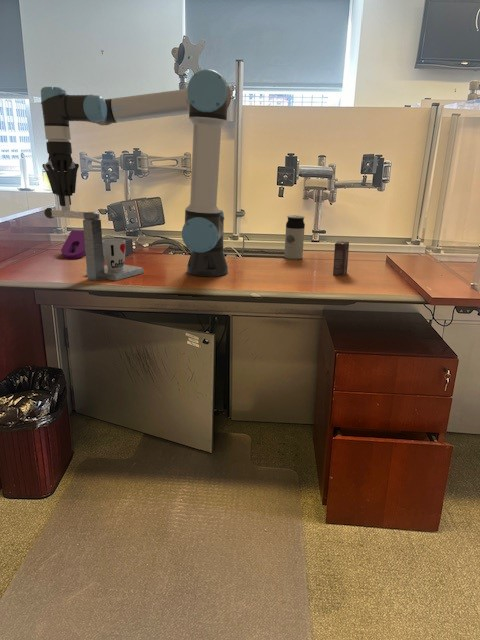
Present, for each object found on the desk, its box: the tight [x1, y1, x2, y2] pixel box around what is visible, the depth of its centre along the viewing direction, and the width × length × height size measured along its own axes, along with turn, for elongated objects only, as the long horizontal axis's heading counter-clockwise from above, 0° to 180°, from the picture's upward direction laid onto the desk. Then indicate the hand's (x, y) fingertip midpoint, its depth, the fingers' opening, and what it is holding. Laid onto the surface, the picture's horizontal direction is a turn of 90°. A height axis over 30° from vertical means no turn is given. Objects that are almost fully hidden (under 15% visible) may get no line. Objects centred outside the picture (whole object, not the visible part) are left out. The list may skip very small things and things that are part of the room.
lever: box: [43, 207, 101, 220], centre depth 153 cm, size 20×5×4 cm, turn 74°
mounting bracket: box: [60, 229, 86, 260], centre depth 196 cm, size 9×8×18 cm
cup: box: [102, 238, 126, 270], centre depth 163 cm, size 8×8×10 cm
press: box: [82, 219, 144, 282], centre depth 161 cm, size 14×18×20 cm
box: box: [332, 240, 350, 277], centre depth 173 cm, size 6×4×12 cm
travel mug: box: [283, 214, 306, 261], centre depth 199 cm, size 8×8×18 cm
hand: (66, 215), depth 156 cm, fingers closed
